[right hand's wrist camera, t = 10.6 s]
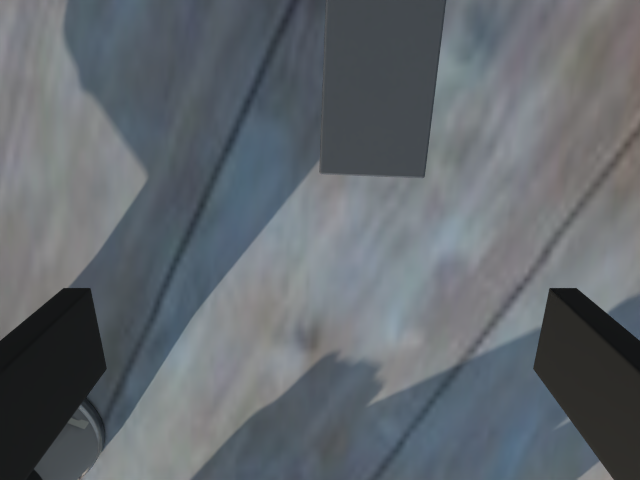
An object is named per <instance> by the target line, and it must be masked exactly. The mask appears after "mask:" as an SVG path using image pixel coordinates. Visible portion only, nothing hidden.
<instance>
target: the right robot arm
mask: <svg viewBox="0 0 640 480" xmlns="http://www.w3.org/2000/svg"><path fill="white" fill-rule="evenodd" d="M106 369H107V368H106V363H105V358H104V353H103V348H102V343H101V338H100V333H99V328H98V323H97V318H96V313H95V309H94V304H93V299H92V294H91V289H90V288H63V289H62V290H61V291H60V292H58V293H57V294H56V295H55V296H54V297H52V298H51V299H50V300H49V301H48V302H46V303H45V304H44V305H43V306H42V307H40V308H39V309H38V310H37V311H36V312H34V313H33V314H32V315H31V316H30V317H28V318H27V319H26V320H25V321H24V322H22V323H21V324H20V325H19V326H18V327H16V328H15V329H14V330H13V331H12V332H10V333H9V334H8V335H7V336H6V337H4V338H3V339H2V340H1V341H0V480H79V479H80V478H82V477H83V476H84V475H85V474H86V473H87V472H88V471H89V470H90V469H91V468H92V466H93V465H94V463H95V461H96V460H97V458H98V456H99V455H100V453H101V451H102V449H103V446H104V441H105V431H104V426H103V423H102V420H101V418H100V416H99V414H98V413H97V411H96V410H95V408H94V407H93V406H92V404H91V403H90V402H89V401H88V400H87V399H86V397H87V395H88V394H89V392H90V391H91V390H92V388H93V387H94V386H95V384H96V383H97V381H98V380H99V379H100V377H101V376H102V374H103V373H104V372H105V370H106ZM533 369H534V370H535V372H536V373H537V374H538V376H539V377H540V379H541V380H542V381H543V383H544V384H545V386H546V387H547V388H548V390H549V391H550V392H551V394H552V395H553V397H554V398H555V399H556V401H557V402H558V403H559V405H560V406H561V408H562V409H563V410H564V412H565V413H566V414H567V416H568V417H569V419H570V420H571V421H572V423H573V424H574V425H575V427H576V428H577V430H578V431H579V432H580V434H581V435H582V436H583V438H584V439H585V441H586V442H587V443H588V445H589V446H590V447H591V449H592V450H593V452H594V453H595V454H596V456H597V457H598V458H599V460H600V461H601V463H602V464H603V465H604V467H605V468H606V469H607V471H608V472H609V474H610V475H611V476H612V478H613V479H614V480H640V341H639V340H638V339H637V338H636V337H634V336H633V335H632V334H631V333H630V332H628V331H627V330H626V329H625V328H624V327H622V326H621V325H620V324H619V323H618V322H616V321H615V320H614V319H613V318H612V317H610V316H609V315H608V314H607V313H606V312H604V311H603V310H602V309H601V308H600V307H598V306H597V305H596V304H595V303H594V302H592V301H591V300H590V299H589V298H588V297H586V296H585V295H584V294H583V293H582V292H580V291H579V290H578V289H577V288H550V289H549V294H548V299H547V304H546V309H545V313H544V318H543V323H542V328H541V333H540V338H539V343H538V348H537V353H536V358H535V363H534V368H533Z"/></svg>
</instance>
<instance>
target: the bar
mask: <svg viewBox="0 0 640 480" xmlns="http://www.w3.org/2000/svg"><path fill="white" fill-rule="evenodd" d="M445 5H446V0H326V13H325V39H324V66H323V92H322V119H321V146H320V174H332V175H357V176H381V177H406V178H424V176H425V169H426V161H427V153H428V145H429V136H430V128H431V120H432V112H433V104H434V95H435V87H436V79H437V71H438V63H439V54H440V46H441V38H442V30H443V22H444V13H445Z"/></svg>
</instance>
